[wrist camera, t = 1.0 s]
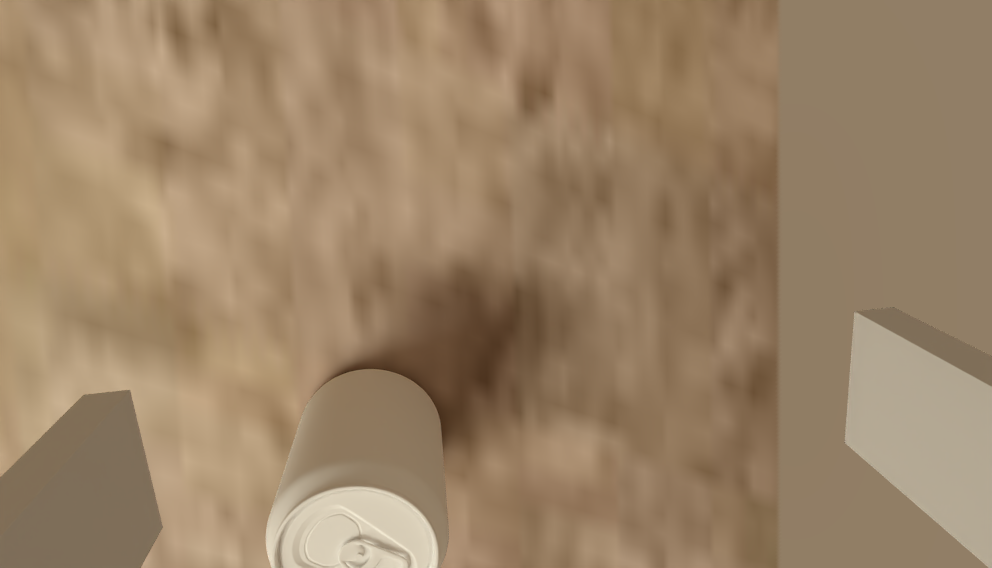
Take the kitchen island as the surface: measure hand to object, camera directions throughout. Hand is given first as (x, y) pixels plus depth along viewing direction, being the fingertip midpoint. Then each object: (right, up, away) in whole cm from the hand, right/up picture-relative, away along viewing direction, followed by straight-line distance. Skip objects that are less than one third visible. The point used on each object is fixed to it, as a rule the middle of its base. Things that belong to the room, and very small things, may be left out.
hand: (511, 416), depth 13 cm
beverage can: (-8, -6, +30) cm, 31 cm away
